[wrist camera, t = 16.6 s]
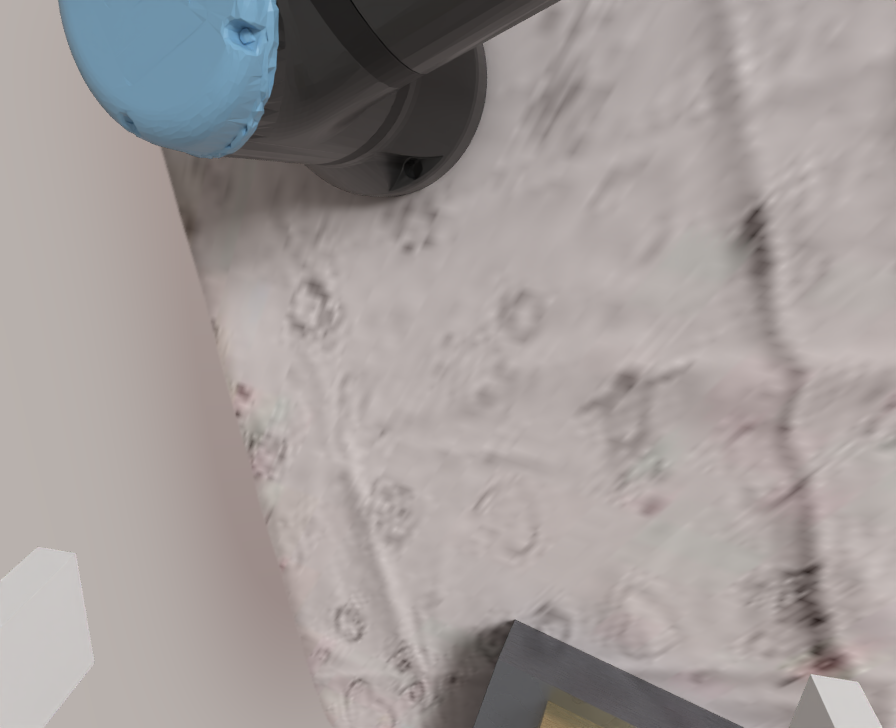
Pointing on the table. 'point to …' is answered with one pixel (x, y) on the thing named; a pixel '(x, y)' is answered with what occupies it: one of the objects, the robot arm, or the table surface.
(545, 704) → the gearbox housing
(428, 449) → the table surface
